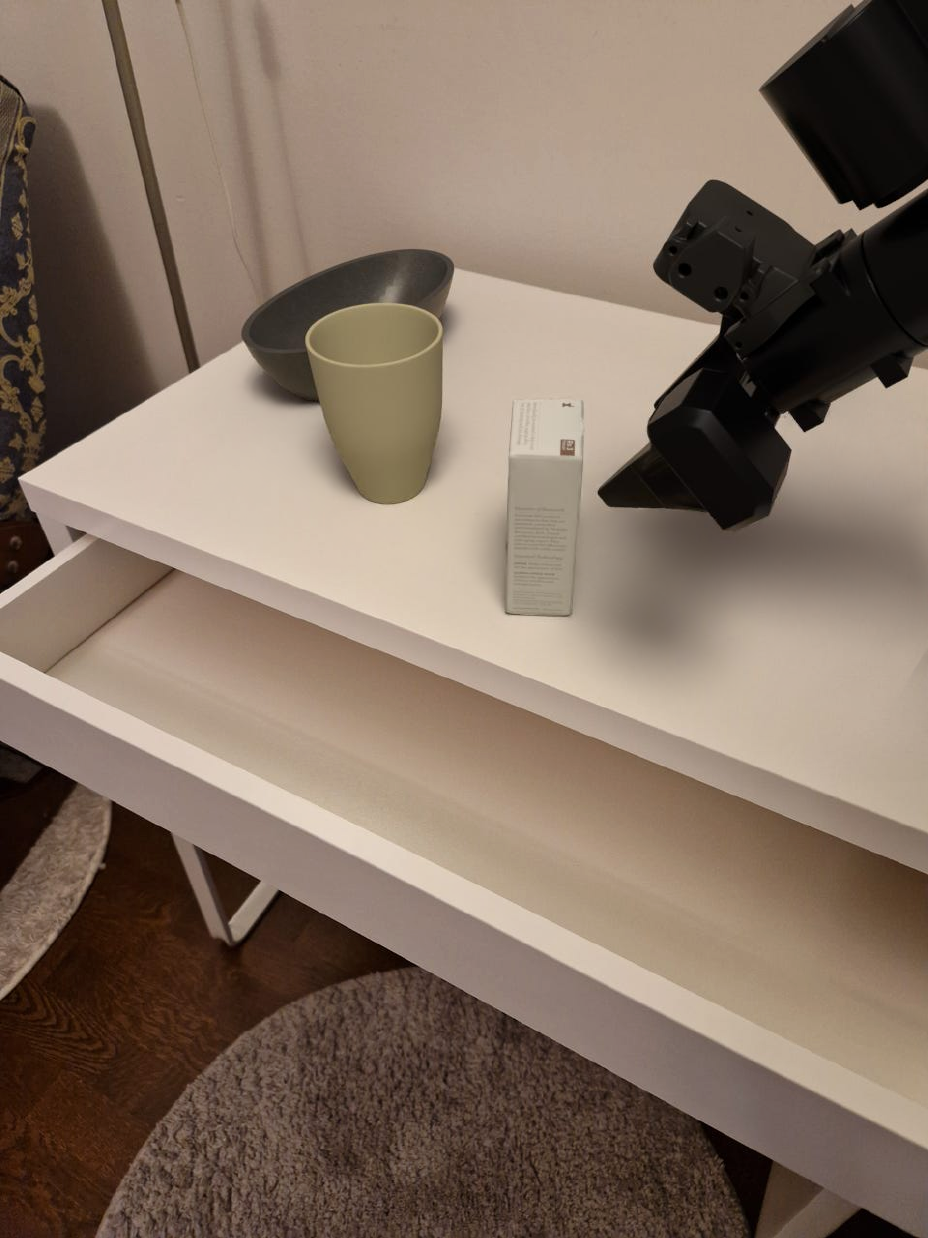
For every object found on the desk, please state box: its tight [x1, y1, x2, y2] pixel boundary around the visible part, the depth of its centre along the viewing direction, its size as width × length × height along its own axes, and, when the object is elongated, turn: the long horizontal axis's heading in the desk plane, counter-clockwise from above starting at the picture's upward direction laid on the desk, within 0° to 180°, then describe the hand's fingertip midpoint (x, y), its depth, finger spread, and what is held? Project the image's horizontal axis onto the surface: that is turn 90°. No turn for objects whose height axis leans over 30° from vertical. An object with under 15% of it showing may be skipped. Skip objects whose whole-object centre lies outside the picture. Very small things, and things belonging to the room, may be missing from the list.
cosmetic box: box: [505, 398, 585, 617], centre depth 58 cm, size 6×4×12 cm
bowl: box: [240, 248, 455, 402], centre depth 83 cm, size 12×22×6 cm, turn 142°
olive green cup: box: [305, 303, 444, 505], centre depth 68 cm, size 11×10×12 cm
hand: (632, 452), depth 53 cm, fingers open, 9 cm apart
